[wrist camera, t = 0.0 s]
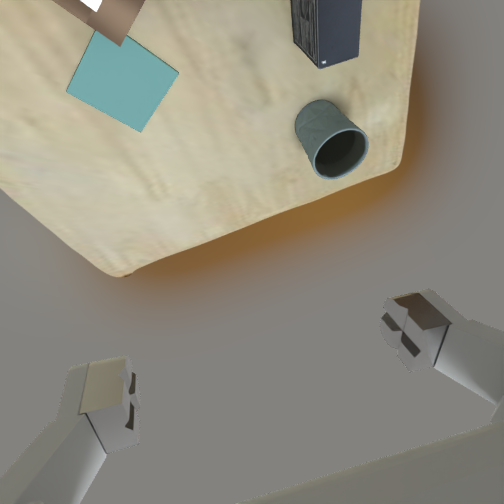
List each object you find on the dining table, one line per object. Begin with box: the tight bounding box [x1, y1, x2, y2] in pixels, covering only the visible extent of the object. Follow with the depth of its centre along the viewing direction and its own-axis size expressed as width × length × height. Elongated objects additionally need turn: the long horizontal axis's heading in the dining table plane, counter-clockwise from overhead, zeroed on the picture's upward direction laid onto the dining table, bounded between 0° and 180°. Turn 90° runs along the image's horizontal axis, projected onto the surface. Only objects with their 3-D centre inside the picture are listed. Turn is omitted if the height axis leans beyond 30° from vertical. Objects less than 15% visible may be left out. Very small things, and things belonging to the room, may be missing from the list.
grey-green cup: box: [295, 100, 369, 179], centre depth 62 cm, size 10×10×12 cm
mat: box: [66, 30, 179, 132], centre depth 52 cm, size 12×12×1 cm
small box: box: [291, 0, 362, 69], centre depth 47 cm, size 11×6×10 cm, turn 11°
